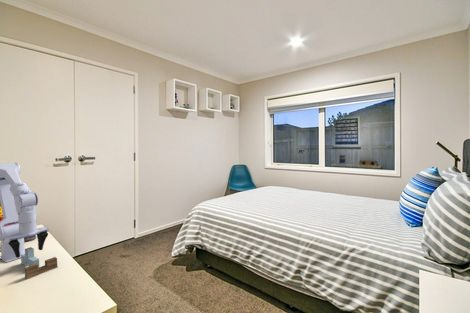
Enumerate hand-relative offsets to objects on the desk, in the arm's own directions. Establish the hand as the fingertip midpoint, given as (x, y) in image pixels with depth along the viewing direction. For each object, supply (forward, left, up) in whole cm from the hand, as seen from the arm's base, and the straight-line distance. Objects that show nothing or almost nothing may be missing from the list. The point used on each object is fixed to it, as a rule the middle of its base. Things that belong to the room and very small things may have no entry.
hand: (29, 253), depth 99 cm
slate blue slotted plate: (0, 0, -6) cm, 6 cm away
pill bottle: (-37, +12, -6) cm, 39 cm away
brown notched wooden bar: (+11, 0, -6) cm, 12 cm away
